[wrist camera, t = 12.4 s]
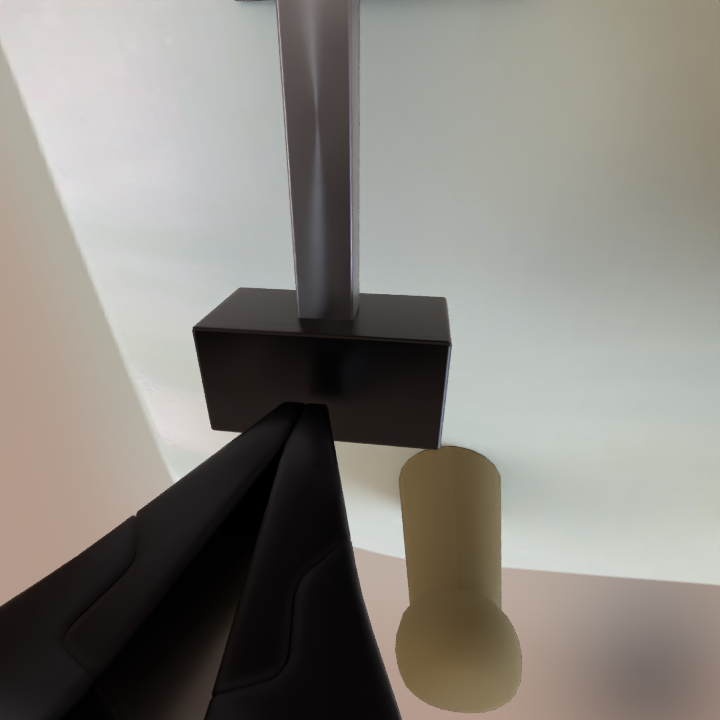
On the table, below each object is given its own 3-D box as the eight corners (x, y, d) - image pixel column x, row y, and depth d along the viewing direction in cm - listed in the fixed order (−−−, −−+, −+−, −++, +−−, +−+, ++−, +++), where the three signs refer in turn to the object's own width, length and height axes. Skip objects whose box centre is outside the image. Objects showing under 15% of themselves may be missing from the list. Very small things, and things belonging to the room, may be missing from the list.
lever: (437, 388, 12) (440, 452, 9) (250, 375, 12) (210, 431, 10) (530, -527, 5) (606, -1008, 3) (138, -462, 6) (-39, -822, 4)
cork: (475, 527, 28) (497, 744, 19) (386, 500, 28) (364, 706, 19) (520, 465, 25) (573, 691, 15) (418, 433, 24) (412, 644, 15)
